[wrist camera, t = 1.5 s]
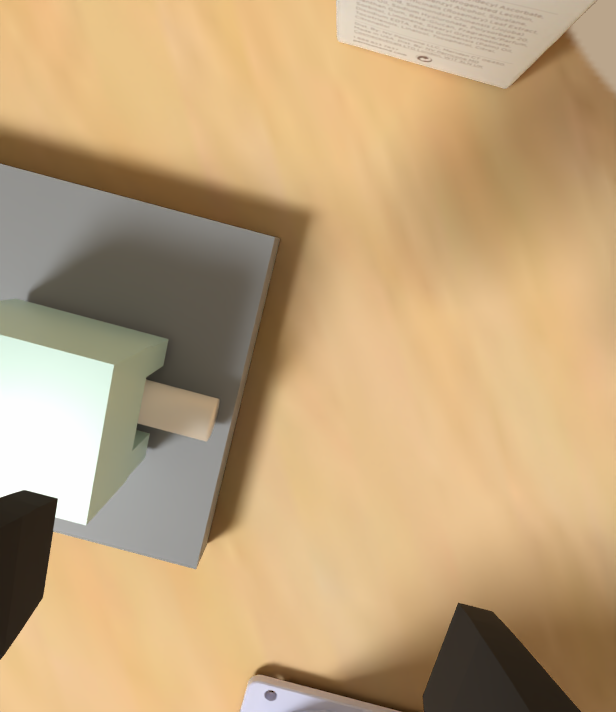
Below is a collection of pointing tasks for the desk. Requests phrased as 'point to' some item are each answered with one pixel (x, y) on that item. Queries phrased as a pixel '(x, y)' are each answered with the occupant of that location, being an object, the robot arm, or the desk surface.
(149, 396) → the wooden dowel
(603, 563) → the desk surface
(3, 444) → the sleeve
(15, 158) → the desk surface
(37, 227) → the board
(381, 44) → the small box
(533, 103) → the desk surface
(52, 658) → the desk surface
